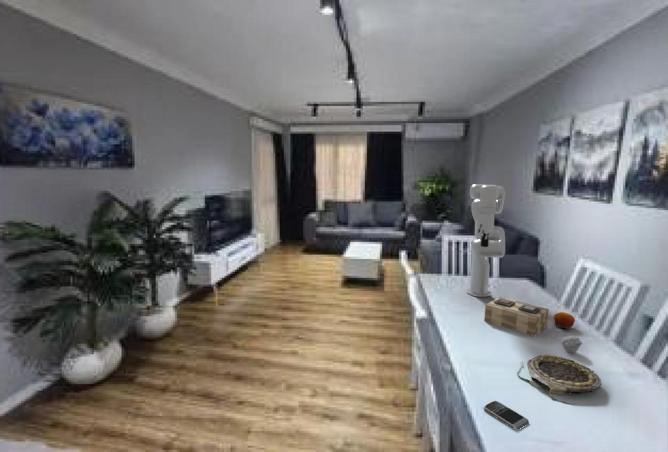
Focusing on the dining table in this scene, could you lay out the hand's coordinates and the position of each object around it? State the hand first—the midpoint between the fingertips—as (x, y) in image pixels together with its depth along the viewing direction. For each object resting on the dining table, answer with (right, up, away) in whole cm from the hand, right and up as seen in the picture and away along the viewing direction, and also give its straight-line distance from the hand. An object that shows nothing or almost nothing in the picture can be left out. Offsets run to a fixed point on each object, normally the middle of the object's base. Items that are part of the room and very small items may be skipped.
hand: (484, 246), depth 185 cm
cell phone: (-27, -45, -80) cm, 95 cm away
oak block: (+8, -35, -15) cm, 39 cm away
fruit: (+29, -36, -18) cm, 49 cm away
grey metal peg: (+12, -35, -19) cm, 42 cm away
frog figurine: (+17, -39, -42) cm, 60 cm away
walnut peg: (+4, -34, -11) cm, 36 cm away
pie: (+1, -43, -61) cm, 75 cm away
